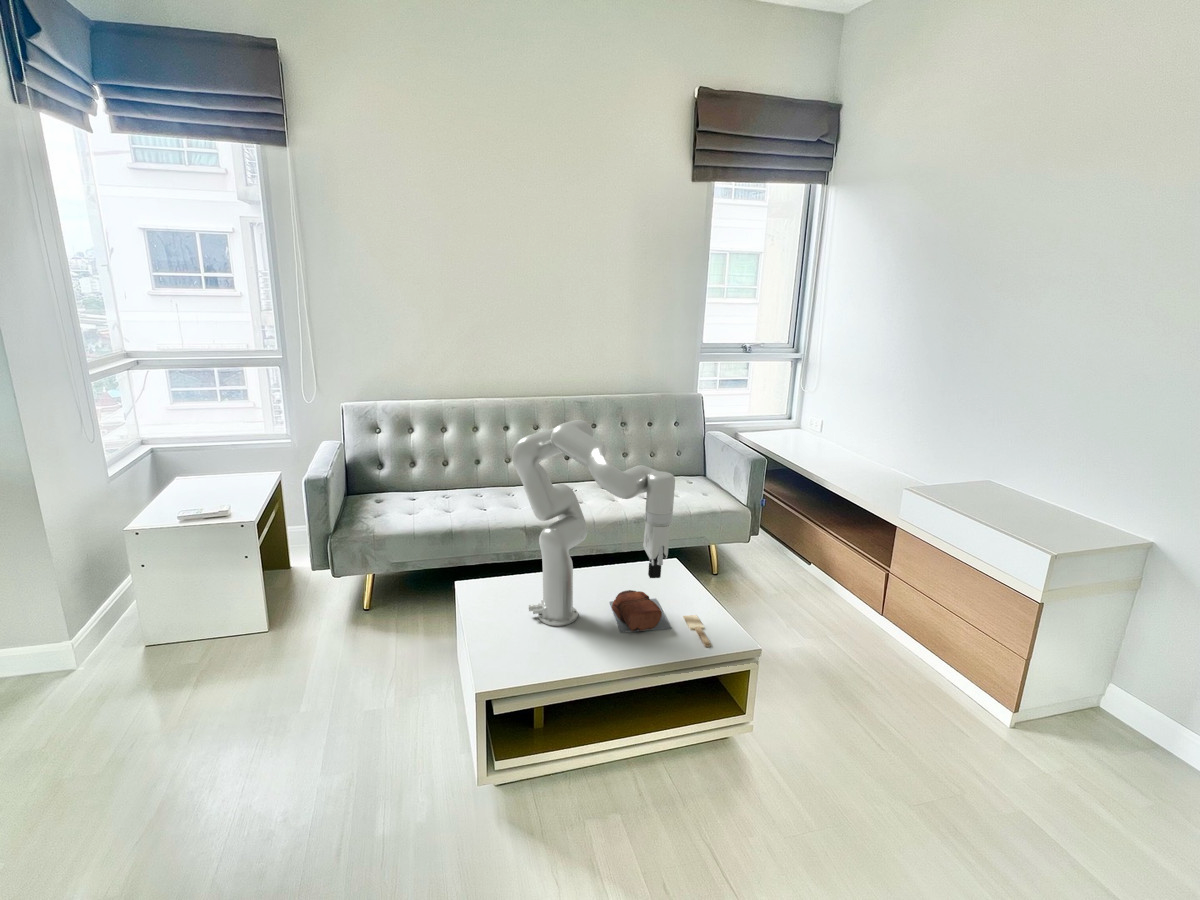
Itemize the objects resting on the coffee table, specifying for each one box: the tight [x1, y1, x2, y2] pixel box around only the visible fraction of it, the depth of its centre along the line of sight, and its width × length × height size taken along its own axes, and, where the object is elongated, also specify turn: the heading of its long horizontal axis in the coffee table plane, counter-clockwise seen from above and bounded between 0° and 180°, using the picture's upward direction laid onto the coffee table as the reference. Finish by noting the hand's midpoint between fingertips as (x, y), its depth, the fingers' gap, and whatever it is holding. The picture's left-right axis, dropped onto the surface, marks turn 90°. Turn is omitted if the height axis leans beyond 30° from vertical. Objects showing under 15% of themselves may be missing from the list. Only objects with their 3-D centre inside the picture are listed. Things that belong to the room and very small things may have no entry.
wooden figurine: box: [611, 589, 662, 632], centre depth 197 cm, size 12×6×18 cm
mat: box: [609, 598, 672, 633], centre depth 200 cm, size 16×19×1 cm
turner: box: [682, 614, 712, 648], centre depth 191 cm, size 18×4×1 cm, turn 9°
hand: (654, 576), depth 175 cm, fingers closed
